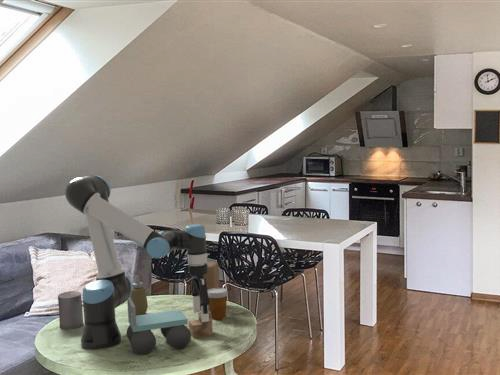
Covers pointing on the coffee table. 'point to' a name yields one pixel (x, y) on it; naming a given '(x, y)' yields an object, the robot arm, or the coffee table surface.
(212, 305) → the disposable coffee cup
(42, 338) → the coffee table surface
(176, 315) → the trolley
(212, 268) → the block
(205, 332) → the block
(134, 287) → the squeeze bottle
